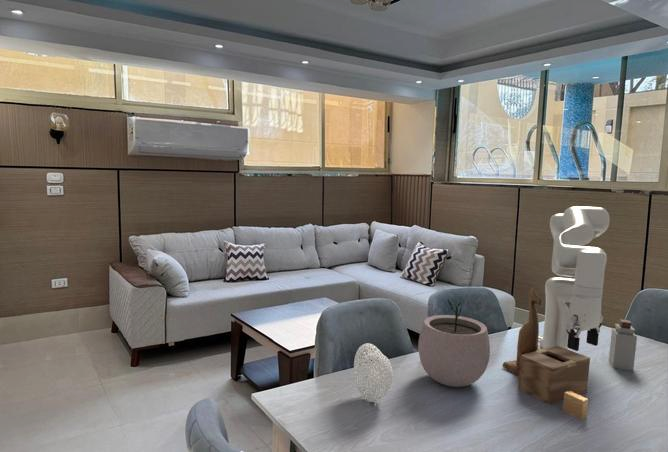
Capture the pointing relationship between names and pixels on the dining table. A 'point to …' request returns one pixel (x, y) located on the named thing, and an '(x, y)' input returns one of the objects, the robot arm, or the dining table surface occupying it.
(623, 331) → the perfume bottle
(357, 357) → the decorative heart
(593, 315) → the robot arm
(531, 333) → the bird sculpture
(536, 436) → the dining table surface
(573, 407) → the tan flat square block
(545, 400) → the box
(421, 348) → the plant pot
